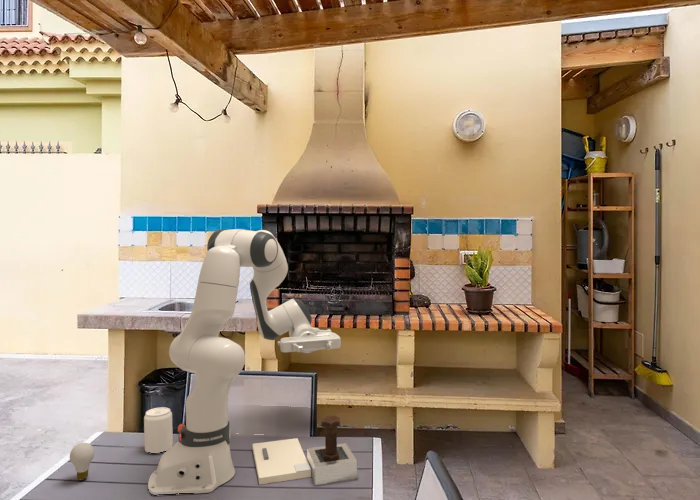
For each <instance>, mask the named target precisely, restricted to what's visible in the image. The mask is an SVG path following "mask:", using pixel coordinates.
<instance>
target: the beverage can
mask: <svg viewBox="0 0 700 500" xmlns="http://www.w3.org/2000/svg"><path fill="white" fill-rule="evenodd" d="M143 425H144V426H143V431H144V433H143V434H144V436H143V437H144V451H145V452H146V451H147V452H146V453H148V452H151V453H157V452H163V451H166V450H168V449H169V448H171V447H172V445H174V442H173V441H174V440H173V439H174V438H173V435H174V434H173V412H172V411H171V408H169V407H165V406H161V407H155V408H151V409H148V410H146V411H145V415H144V417H143ZM151 453H150V454H151ZM163 453H164V452H163Z"/></svg>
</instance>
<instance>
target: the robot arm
mask: <svg viewBox="0 0 700 500" xmlns="http://www.w3.org/2000/svg"><path fill="white" fill-rule="evenodd" d="M206 247H207V248H206V249H207V251H206V253H205V256H204V259H203V262H202V265H201V268H200V272H199V276H198V280H197V286H196V292H195V296H194V301H193V305H192V309H191V313H190V315H189V318H188V320H187V322H186V324H185V325H184V328H183V329H182V331H181V332H180V333H179V334H178V335H177V336H175V338H174V339H173V340H172V341H171V343H170V346H169V349H168V356H169V358H170V361H171V362H172V363H173V364H174V365H175V366H176V367H177V368H179V369H180V370H182V371H184V372H187V373H191V374H195V377H196V378H195V385H194V389H193V390H192V392H190V393H189V394H188V396H187V397H186V399H185V401H186V402H185V417H186V418H185V422H186V423H185V424H186V425H185V424H184V423H180V424H179V425H178V426H177V432H178V441H177V442H176V443H175V444H173V446H172V447H171V448H170V449H168V450H167V451H166V452H163V453H162V456H161V457H160V459H159V462H158V464H157V468H156V470H154V471H153V472H152V473H151V475H150V476H149V478H148V482H147V490H148V489H149V491H150V492H151V493H153V494H172V493H174V494H175V493H178V494H177V495H180V494H179V493H194V494H208V493H212V492H213V491H214V490H215V489H217V488H218V487H219V486H221V485H223V484H226V483H228V482H229V481H230V480H231V479H233V477H235V476H234V475H236V470H235V466H234V463H233V459H232V454H231V448H230V447H231V446H230V443H231V425H230V421H229V394H230V389H231V386H232V384H233V381H234V379H235V378H236V377H238V375H240V373H241V372H242V371H243V368H244V366H245V362H246V354H245V351H244V349H243V347H242V346H241V345H240V344H239V343H236V342H235V341H234V340H232V339H229V338H226V337H223V336H222V337H221V336H220V332H221V330H222V328H223V327H224V325H225V323H226V322H227V321H229V320H230V319H232V317H233V316H234V314H235V310H236V309H235V308H236V303H237V297H238V290H239V283H240V274H241V273H240V272H241V268H243V267H244V268H252V269H253V276H252V278H251V280H250V282H249V289H250V290H249V291H250V296H251V300H252V304H253V308H254V313H255V318H256V326H257V329H258V332H259V334H260V335H261V337H262V338H263V339H264V340H267V341H274V340H277V339H278V338H279V337H281V336H282V335H284V334H286V333H288V336H289V337H282V338H280V340H278V341H277V343H276V344H277V345H278V346H279V348H280V352H281V353H292V352H293V353H296V352H297V353H303V354H311V353H313V352H316V351H319V350H321V351H322V350H326V351H329V350H333V349H335V350H336V349H340V348H341V346H342V345H341V344H342V341H341V339H342V338H341V337H340V335H339V334H337V333H335V332H332V330H331V329H330V328H319V327H313V326H312V325H311V324H312V315H311V313H310V310H309V309H308V307H307V305H305V303H304V302H303V301H302V300H300V299H298V298H290V299H289V300H287V301H284V303H282V304H280V305H278V306H276V307H274V308H272V309H270V310H268V307H267V299H268V296H270V294H271V293H272V292H273V291H274V290H275V289H276V288H277V287H278V286H280V285H281V283H283V281H284V280H285V278H286V277H287V274H288V271H289V266H288V265H289V264H288V262H287V257H286V256H285V253H284V250H283V248H282V247H281V245H280V243H279V242H278V240H277V239H276V237H275V236H274V234H273V233H272V232H270V231H268V230H267V229H259V230H256V231H255V230H249V229H244V228H235V229H233V228H232V229H227V228H225V229H218V230H216V231H214V232H212V234H211V235H210V236H209V238H208V241H207V244H206ZM149 491H148V492H149Z"/></svg>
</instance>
